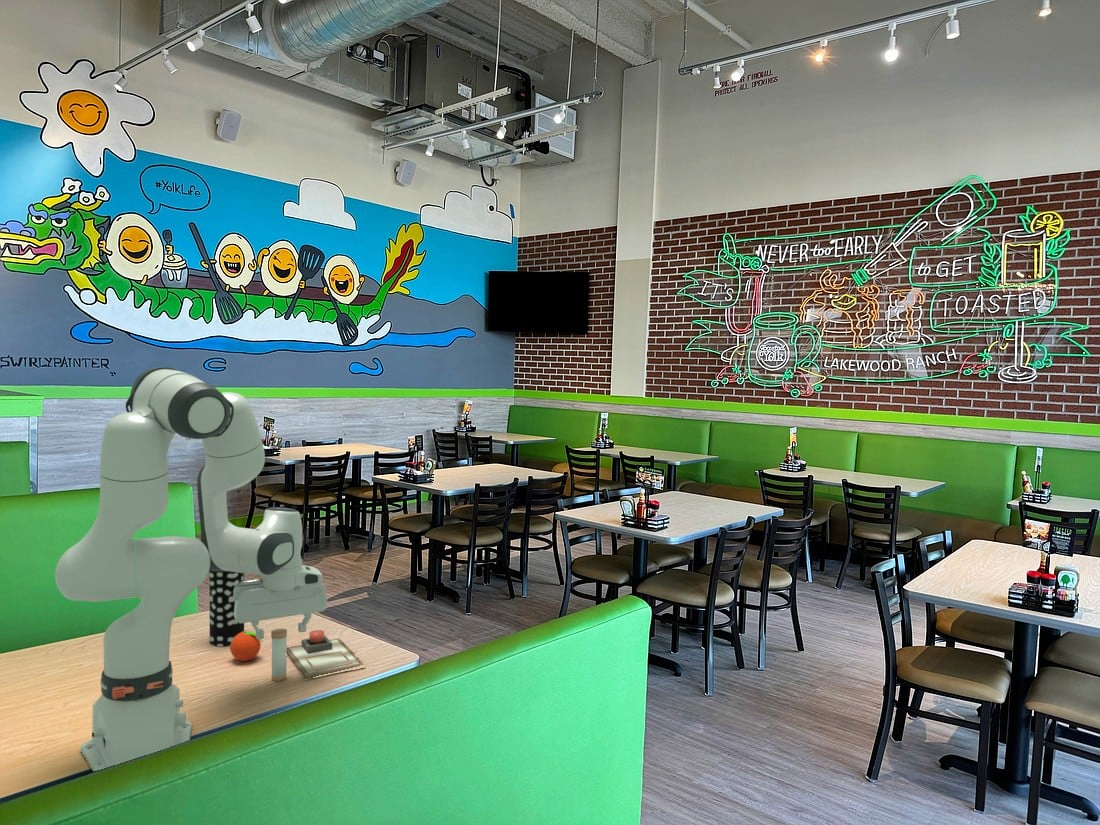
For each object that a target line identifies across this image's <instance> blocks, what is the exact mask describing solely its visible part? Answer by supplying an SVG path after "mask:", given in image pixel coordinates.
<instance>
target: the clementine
mask: <svg viewBox="0 0 1100 825" xmlns="http://www.w3.org/2000/svg"><path fill="white" fill-rule="evenodd" d="M261 642H262V643H264V641H263V638H262V639H257V638H256V632H252V631H249V630H248V631H247V630H246V631H245V630H244V632H241V633H239V634H238V635H236V636H235V637H234V639H233V640H232V642H231V646H229V649H230V654H231V655H232V657H233V658H234V659H236V660H238V661H240V662H247V661H251V660H253V659H254V658H255V657H257V655H258V654H259V653H260V650H261V647H262V645H261V644H262V643H261Z"/></svg>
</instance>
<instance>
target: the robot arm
mask: <svg viewBox="0 0 1100 825" xmlns="http://www.w3.org/2000/svg"><path fill="white" fill-rule="evenodd" d="M125 409H126V410H125V411H126V412H124V413H121V414H118V415H115V416H114V417H113V418H111V419H109V421H108V422H107V423H106V425H105V427H104V431H103V436H102V441H101V448H100V456H99V458H100V460H99V480H100V481H99V489H100V490H99V504H98V511H97V516H96V518H95V520H94V523H93V525H92V526H91V528H90V529H89V531H88V532H87V533H86V534H85V535H84V536H83V537H82V538H81V540H79V541H78V542H77V543H76V544H74V545H72V546H71V547H70V548H68V549H67V550H66V551H65V552H64V553H63V554H62V555H61V557H60V558H59V560H58V561H57V564H56V567H55V571H54V579H55V583H56V585H55V586H56V588H57V589H58V590H59V592H60V594H61V595H62V596H63V597H64V598H66V599H67V600H69V601H78V602H93V603H98V602H106V601H114V600H115V601H116V600H124V599H132V598H135V599H138V598H139V599H140V600H141V601H140V602H139V604H138V605H137V606H136V607H135V608H134V609H132V610H131V611H129V612H128V613H125V614H123V615H122V616H120V617H119V618H117V619H116V620H114V621H113V622H112V623H110V625H109V626H108V627H107V628H106V630H105V632H104V634H103V670H102V672H101V675H100V676H101V677H100V686H101V687H100V691H101V694H100V697H98V699H96V701H95V702H94V703H93V704H92V715H91V716H92V717H91V718H92V721H91V722H92V726H91V728H92V730H91V731H92V732H91V738H90V739H89V740H87V741H85V742H83V743H82V744H81V746H80V753H81V752H82V753H81V755H82V756H83V755H84V756H83V757H85V758H86V759H85V758H84V759H85V761H86V760H87V761H88V762H87V761H86V762H87V764H88V763H89V764H88V765H89V767H90V769H91V770H92V771H93V772H94V771H97V770H101V769H104V768H107V767H110V766H113V765H117V764H120V763H123V762H126V761H129V760H132V759H135V758H138V757H141V756H144V755H148V754H151V753H154V752H157V751H160V750H163V749H166V748H169V747H171V746H174V745H177V744H180V743H183V742H185V741H188V740H190V741H191V735H192V729H193V726H192V722H191V721H190V720H187V714H186V712H180V710H181V709H180V708H183V706H184V700H183V699H181V698H180V687H178V686H177V685H175V683H173V672H174V671H173V667H172V661H171V660H170V643H171V642H170V641H171V631H172V630H171V629H172V625H173V624H172V623H173V620H174V617H175V615H176V613H177V612H178V609H179V607H180V606H181V604H182V603H183V602H184V601H185V599H186V598H187V597H188V596H189V595H190V594H191V593H192V592H194V590H196V589H197V588H199V587H200V585H202V584H203V583H204V581H205V580H206V578H207V577H208V576H209V570H211V571H222V572H229V571H231V572H238V573H244V574H248V575H249V574H250V575H251V574H252V575H257V576H261V577H260V578H257V579H250V580H244V581H241V582H240V583H239V584H237V585H236V586H235V587H234V590H233V597H234V599H235V607H234V617H235V620H236V621H237V622H239V623H244V624H247V623H250V625H251V626H252V627H253V630H255V634H256V638H257V639H260V640H261V639H262V640H263V639H265V636H264V635H265V630H264V628H258V626H259V624H260V621H267V620H273V619H279V618H286V617H292V616H293V617H294V616H300V615H303V616H304V618H303V620H302V621H301V622H298V623H297V625H298V628H297V630H298V633H305V632H307V625H308V624H309V622H310V620H312V614H313V613H320V612H325V610H326V609H327V607H328V594H327V589H326V586H325V585H324V583H323V579H324V578H323V577H324V576H323V574H322V572H321V571H320V570H319V569H318V568H316V567H314V566H310V565H306V564H305V565H303V559H302V556H301V550H302V548H303V523H302V518H301V513H300V512H299V511H298V510H297V509H295V508H288V507H279V506H277V507H275V506H274V507H273V506H272V507H268V508H266V509H265V510H264V514H263V519H262V522H261V523H260V524H259V525H258V526H257V527H255V528H248V527H239V526H236V525H234V524H233V523H232V522H230V520H229V517H228V505H227V492H230V491H232V490H236V489H238V488H241V487H243V486H245V485H247V484H249V483H250V482H251V481H253V480H254V479H255V478H256V477H258V475H260V473H261V472H262V470H263V468H264V466H265V463H266V462H265V461H266V460H265V459H266V456H265V454H266V452H265V448H264V443H263V439H262V435H261V431H260V427H259V423H258V421H257V419H256V416H255V414H254V411H253V409H252V407H251V404H250V403H249V401H248V399H246V397H245V396H244V395H242V394H239V393H236V392H231V391H228V392H226V391H223V392H221V390H219V389H218V388H216V386H214V385H212V384H209V383H206V382H204V381H203V380H201V379H199V378H198V377H196V376H195V375H193V374H190V373H188V372H184V371H180V370H178V369H176V368H172V367H167V366H166V367H165V366H159V367H152V368H149V369H146V370H145V371H142V373H140V374H139V375H138V377H136V379H135V380H134V382H133V384H132V386H131V389H130V395H129V397H128V398H127V400H126V402H125ZM176 434H177V435H178V436H180V437H182V438H186V439H192V440H201V442H202V447H203V451H204V455H205V464H204V465H203V466H202V467H201V469H200V470H199V472H198V475H197V484H196V485H197V486H196V487H197V489H196V491H197V501H198V503H197V504H198V513H199V524H200V525H199V526H200V539H199V538H197V537H196V538H195V537H189V536H188V537H186V536H176V535H172V536H169V535H168V536H161V537H160V536H158V537H157V536H155V537H145V538H144V537H143V538H133V536H134V535H135V534H136V533H137V532H138V531H140V530H141V529H143V528H145V527H147V526H149V525H151V524H154V523H155V522H157V521H158V520H159V519H160V518H162V516H164V514H165V512H166V510H167V509H168V505H169V461H168V460H169V459H168V452H169V448H170V444H171V442H172V440H173V438H174V436H175V435H176ZM239 585H241V586H239Z"/></svg>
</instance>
